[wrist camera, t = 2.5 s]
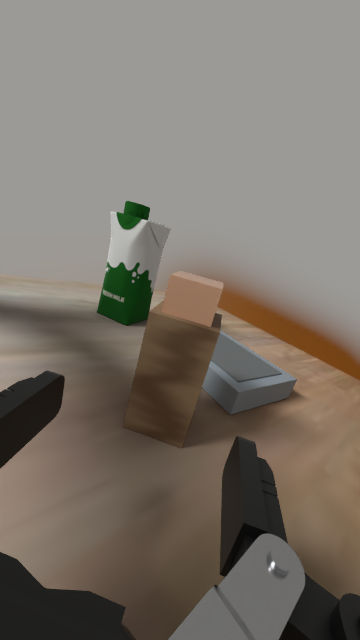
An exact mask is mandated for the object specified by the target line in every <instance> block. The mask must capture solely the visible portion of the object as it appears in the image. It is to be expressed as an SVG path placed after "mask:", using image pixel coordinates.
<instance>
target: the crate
mask: <svg viewBox="0 0 360 640" xmlns="http://www.w3.org/2000/svg"><path fill="white" fill-rule="evenodd" d="M163 303H164V301H162V302H161V303H160V304H158V305H157V306H156V307H154V308H153V309H152V310H150V311H149V315H148V320H147V324H146V329H145V333H144V337H143V342H142V346H141V350H140V355H139V359H138V363H137V368H136V372H135V376H134V381H133V385H132V389H131V394H130V398H129V402H128V407H127V411H126V415H125V420H124V424H123V427H125V428H128V429H130V430H133V431H136V432H139V433H141V434H144V435H147V436H150V437H152V438H155V439H158V440H161V441H163V442H166V443H169V444H172V445H174V446H177V447H180V448H182V447H183V443H184V440H185V437H186V434H187V431H188V428H189V425H190V422H191V419H192V416H193V413H194V410H195V407H196V404H197V401H198V398H199V395H200V392H201V389H202V386H203V383H204V380H205V377H206V374H207V371H208V368H209V365H210V362H211V358H212V355H213V352H214V349H215V346H216V343H217V340H218V337H219V334H220V327H221V318H222V315H220V314H217V313H215V315H214V318H213V321H212V325H211V327H209V326H206V325H202V324H199V323H196V322H193V321H189V320H186V319H183V318H180V317H176V316H173V315H170V314H167V313H163V312H161V311H162V307H163Z"/></svg>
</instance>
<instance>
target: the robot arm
mask: <svg viewBox="0 0 360 640" xmlns="http://www.w3.org/2000/svg"><path fill="white" fill-rule="evenodd" d="M64 381H65V378H64V376H62V375H59V374H56V373H53V372H51V371H45V372H43V373H42V374H40V375H39V376H37V377H36V378H32V377H31V378H28V379H25V380H22V381H18V382H17V383H15V384H13V385H12V386H10V387H8V388H7V390H6V389H5V390H3V391H2V392H0V468H1V467H3V466H4V465H5V464H6V463H7V462H8V461H9V460H10V459H11V458H12V457H13V456H14V455H15V454H16V453H17V452H19V451H20V450H21V449H22V448H23V447H24V446H25V445H26V444H27V443H28V442H29V441H30V440H31V439H32V438H33V437H35V436H36V435H37V434H38V433H39V432H40V431H41V430H42V429H43V428H44V427H45V426H46V425H47V424H48V423H49V422H51V421H52V420H53V419H54V418H55V417H56V415H57V414H58V412H59V410H60V408H61V404H62V397H63V389H64ZM277 496H278V495H277V490H276V487H275V481H274V476H273V472H272V470H271V468H270V467H269V465H268V463H267V462H266V460H265V459H262V458H259V457H257V450H256V444H255V442H253V441H250V440H247V439H244V438H241V437H238V436H237V437H236V438H235V440H234V443H233V446H232V448H231V451H230V453H229V456H228V458H227V461H226V464H225V467H224V471H223V477H222V508H221V549H220V575H222V576H224V577H225V578H224V580H223V581H222V582H221V583H220V584H219V585H218V586H216V585H215V586H213V587H212V588H211V589H210V590H209V591H208V592H207V593H206V595H205V596H204V597H203V598H202V599H201V601H200V602H199V603H198V604H197V605H196V607H195V608H194V609H193V610H192V611H191V613H190V614H189V615H188V616H187V617H186V619H185V620H184V621H183V622H182V624H181V625H180V626H179V627H178V628H177V630H176V631H175V632H174V633H173V634H172V636H171V637H170V638H169V639H168V640H360V596H358V595H356V594H351V593H349V594H345V595H343V597H342V598H341V599H340V600H338V599H337V598H336V597H334V596H333V595H332V594H330V593H329V592H328V591H326V590H325V589H324V588H322V587H321V586H320V585H318V584H317V583H316V582H315V581H313V580H312V579H311V578H310V577H309V576H308V575H307V574H306V573H305V572H304V569H303V567H302V564H301V562H300V560H299V558H298V556H297V555H296V553H295V552H294V550H293V549H292V548H291V547H290V546H289V545H288V543H287V538H286V534H285V529H284V524H283V519H282V514H281V510H280V505H279V500H278V498H277ZM125 608H126V607H124V606H122V605H119V604H117V603H115V602H112V601H110V600H108V599H106V598H103V597H101V596H99V595H97V594H94V593H92V592H90V591H77V590H60V589H47V588H45V587H43V586H42V585H41V584H40V583H39V582H38V581H37V580H36V579H35V578H34V577H33V576H32V575H31V574H30V573H29V571H28V570H27V569H26V568H25V567H24V566H23V565H22V564H21V563H20V562H19V561H18V560H17V559H15V558H13V557H10V556H8V555H6V554H4V553H1V552H0V640H136V639H135V638H134V637H133V635H132V634H131V633H130V631H129V630H128V629H127V628H126V627H125V626H124V625H123V624H122V623H121V622H122V618H123V615H124V611H125Z"/></svg>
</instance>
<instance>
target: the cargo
mask: <svg viewBox="0 0 360 640" xmlns="http://www.w3.org/2000/svg"><path fill="white" fill-rule="evenodd" d="M222 289H223V283H222V282H218V281H215V280H211V279H207V278H204V277H201V276H197V275H194V274H190V273H187V272H183V271H178V272H175V273H173V274H171V275H170V279H169V283H168V287H167V291H166V295H165V299H164V303H163V307H162V311H161V312H163V313H167V314H170V315H173V316H176V317H180V318H183V319H186V320H189V321H193V322H196V323H199V324H202V325H206V326H209V327H211V325H212V321H213V318H214V315H215V312H216V309H217V305H218V302H219V299H220V296H221V293H222Z"/></svg>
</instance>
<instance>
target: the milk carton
mask: <svg viewBox="0 0 360 640" xmlns="http://www.w3.org/2000/svg"><path fill="white" fill-rule="evenodd" d="M149 212H150V208H149V207H146V206H144V205H141V204H138V203H134V202H130V201H126V203H125V209H124V214H123V213H119V212H117V213H116V212H112V211H111V241H110V247H109V254H108V259H107V265H106V271H105V277H104V283H103V288H102V292H101V297H100V301H99V306H98V310H97V312H98V313H100V314H102V315H105V316H107V317H109V318H111V319H113V320H115V321H118V322H120V323H122V324H124V325H129V324H133V323H136V322H139V321H142V320H146V319H148V315H149V310H150V304H151V298H152V294H153V290H154V285H155V281H156V277H157V272H158V268H159V264H160V259H161V255H162V251H163V248H164V245H165V243H166V240H167V238H168V235H169V232H170V230H171V229H170V228H167V227H165V226H164V225H161V224H158V223H155V222H151V221H148V217H149Z"/></svg>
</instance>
